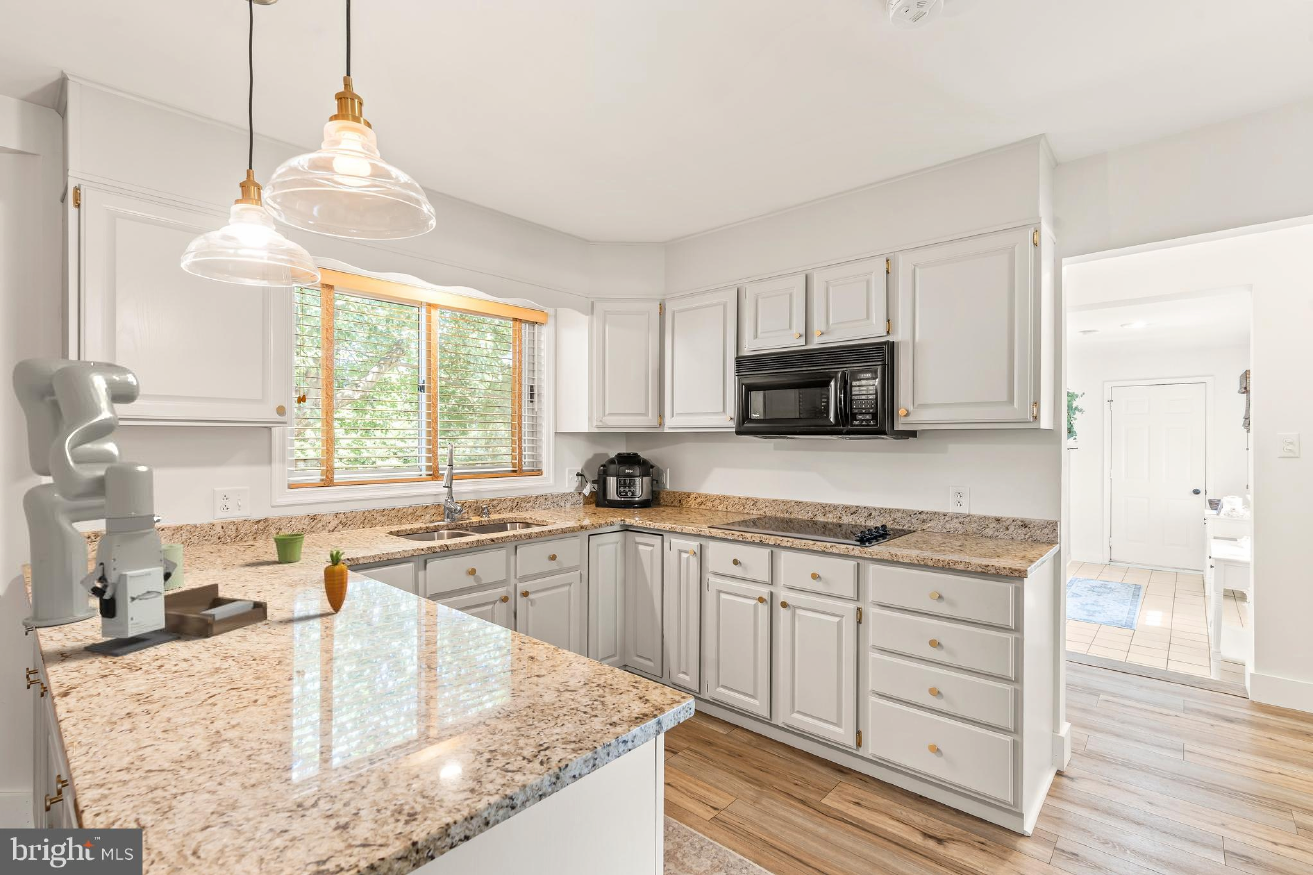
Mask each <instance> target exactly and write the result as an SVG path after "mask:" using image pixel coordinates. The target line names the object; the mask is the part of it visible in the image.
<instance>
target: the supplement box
mask: <svg viewBox="0 0 1313 875" xmlns="http://www.w3.org/2000/svg"><path fill="white" fill-rule="evenodd" d="M105 578H106V577H105ZM105 578H104V579H103V575H102V580H105ZM103 582H104V581H103ZM99 584H100V586H101V585H102V583H99ZM100 586H99V587H100ZM108 586H109V585H108ZM164 595H165V591H164V579H163V567H159V568H152V569H145V570H139V571H133V572H127V573H122V574H121V576H120V582H119V584H118V585H117V587H116V589H115V591H114V592H113V594H112V596H111V597H112V598H115V617H114V618H112V619H108V618H102V616H101V615H100V618H101V620H100V622H101V624H100V625H101V627H100V628H101V638H104V639H105V638H107V639H108V638H110V639H115V638H129V637H131V636H135V635H138V634H142V633H146V632H150V631H160V630H159V629H163V628H165V612H164Z"/></svg>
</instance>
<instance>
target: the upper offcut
mask: <svg viewBox="0 0 1313 875" xmlns="http://www.w3.org/2000/svg"><path fill="white" fill-rule="evenodd" d="M249 610H253V602H249V601H237V602H233V603H230V604H227V605H224V606H220V607H217V608H214V609H211V610H207V611H204V612H201V613H199V615H200V616H208V617H213V621H214V620H218V619H221V618H225V617H228V616H232V615H235V614H239V613H242V612H246V611H249Z"/></svg>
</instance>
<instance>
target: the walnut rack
mask: <svg viewBox="0 0 1313 875" xmlns="http://www.w3.org/2000/svg"><path fill="white" fill-rule="evenodd" d="M237 601H249V602H253V610H249V611H246V612H242V613H239V614H235V615H232V616H228V617H225V618H221V619H218V620H214V621H213V617H208V616H200V615H199V613H201V612H204V611H207V610H211V609H214V608H217V607H220V606H224V605H227V604H230V603H233V602H237ZM164 612H165V628H163V629H159V630H158V631H160V632H161V631H162V632H167V631H169V632H168V633H173V634H180V633H182V635H188V636H193V637H200V636H201V637H202V636H203V637H202V638H207V639H209V638H212V636H213V637H216V636H218V635H222V634H225V633H228V632H231V631H234V630H238V629H241V628H245V627H247V626H251V625H255V624H257V623H260V622H264V621H267V620H268V601H261V600H254V599H253V600H251V599H245V598H235V597H229V596H228V597H227V596H219V583H211V584H207V585H202V586H199V587H194V588H189V589H184V590H182V591H181V590H180V591H176V592H173V593H172V592H171V593H168V594H164Z"/></svg>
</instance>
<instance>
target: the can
mask: <svg viewBox="0 0 1313 875" xmlns="http://www.w3.org/2000/svg"><path fill="white" fill-rule="evenodd" d="M162 550H163V557H164V558H166V559H168V560H170V561H173V562H175V563H177V567H176V569H175V570H174V572H173V573H172V576H171V577H170V578H169V579H168V581H167V582H166V585H165V586H164V590H169V591H172V590H171V589H174V588H178V589H180V588H179V587H181V586H183V587H184V586H185V581H184V580H185V579H184V578H185V577H184V576H185V575H184V544H182V543H165V544H162ZM164 569H165V566H164V568H163V572H164ZM181 588H182V587H181ZM174 590H175V589H174Z"/></svg>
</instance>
